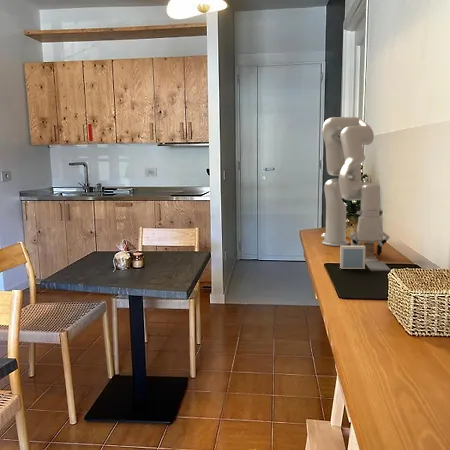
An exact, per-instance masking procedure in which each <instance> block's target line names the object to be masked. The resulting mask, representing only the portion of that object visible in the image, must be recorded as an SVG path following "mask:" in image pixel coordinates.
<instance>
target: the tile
mask: <svg viewBox="0 0 450 450" xmlns="http://www.w3.org/2000/svg"><path fill="white" fill-rule="evenodd" d="M339 247H340V248H339V249H340V250H339V253H340V254H339V255H340V256H339V269H340V268H341V269H365V270H366V264H365V262H366V260H365V246H364V245H361V246H351V245H344V246H339ZM341 269H340V270H341Z"/></svg>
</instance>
